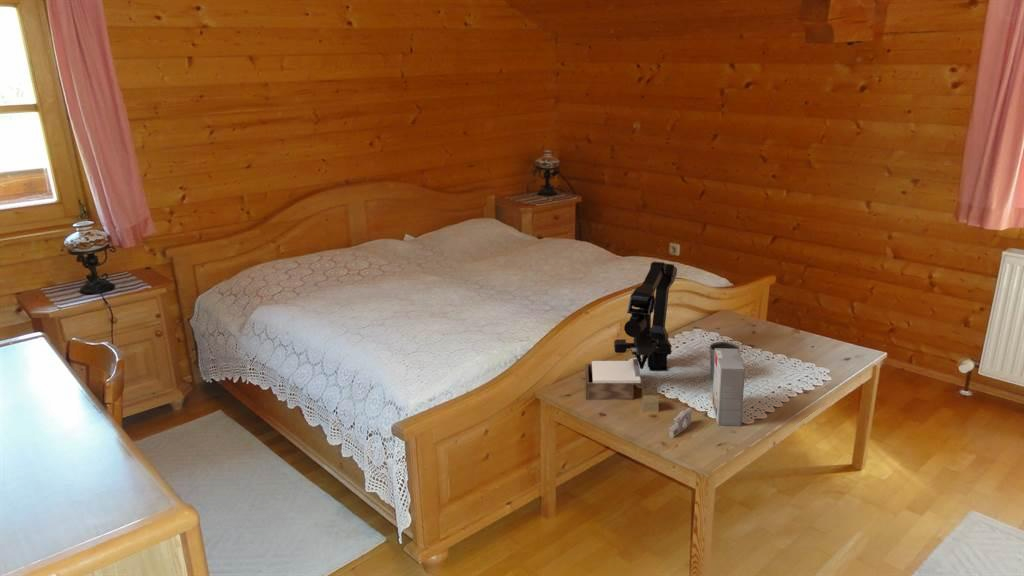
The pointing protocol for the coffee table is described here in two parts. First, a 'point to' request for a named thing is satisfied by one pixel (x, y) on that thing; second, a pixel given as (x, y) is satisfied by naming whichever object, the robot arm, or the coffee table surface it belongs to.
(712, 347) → the drinking glass
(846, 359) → the coffee table surface
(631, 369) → the box lid
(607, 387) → the storage box
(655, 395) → the block
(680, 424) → the garden wall model
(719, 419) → the hard drive box
